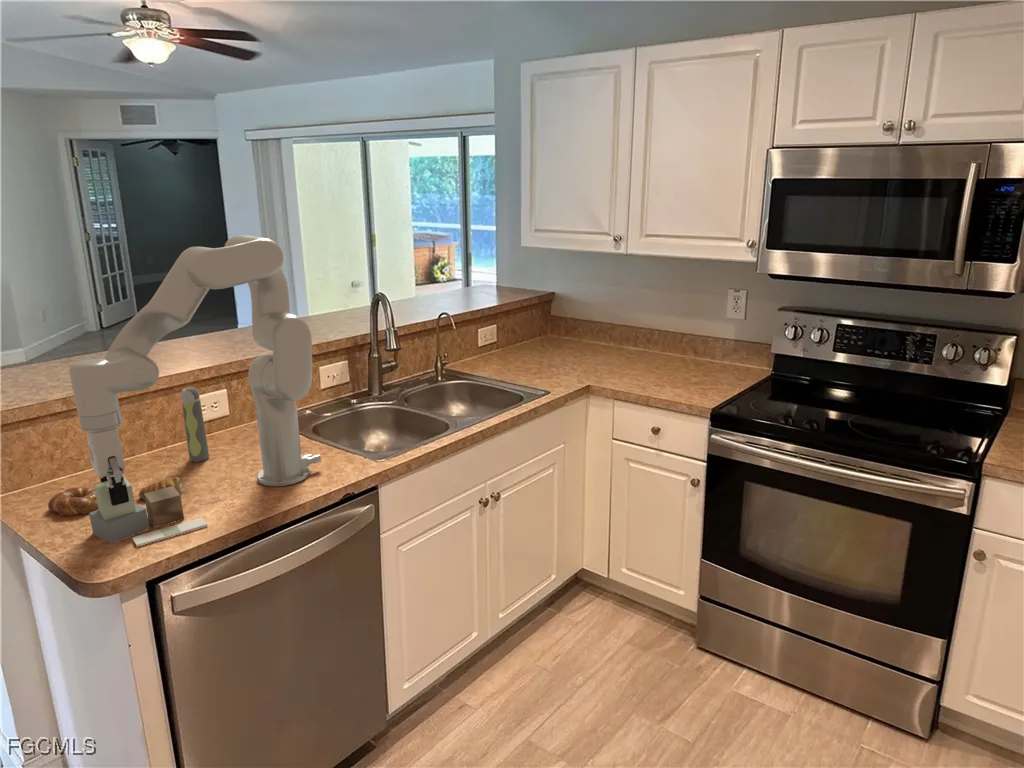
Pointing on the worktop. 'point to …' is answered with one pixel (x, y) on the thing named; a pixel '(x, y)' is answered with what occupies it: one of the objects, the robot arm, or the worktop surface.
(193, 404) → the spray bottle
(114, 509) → the sage block
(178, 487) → the pastry
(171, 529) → the card
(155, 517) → the walnut block
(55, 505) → the pretzel
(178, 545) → the worktop surface
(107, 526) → the base block
